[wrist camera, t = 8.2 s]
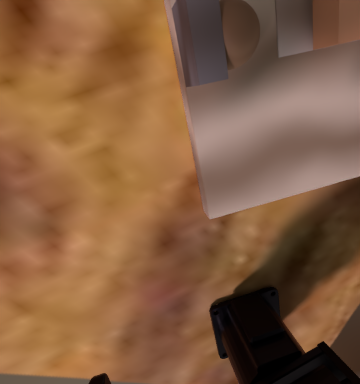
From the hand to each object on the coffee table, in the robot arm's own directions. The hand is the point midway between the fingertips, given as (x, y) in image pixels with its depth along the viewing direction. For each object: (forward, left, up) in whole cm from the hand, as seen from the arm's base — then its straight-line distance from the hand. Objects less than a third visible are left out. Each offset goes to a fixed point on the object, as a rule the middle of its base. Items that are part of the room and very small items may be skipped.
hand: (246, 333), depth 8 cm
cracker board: (+7, -11, -12) cm, 18 cm away
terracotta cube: (+9, -11, -10) cm, 18 cm away
